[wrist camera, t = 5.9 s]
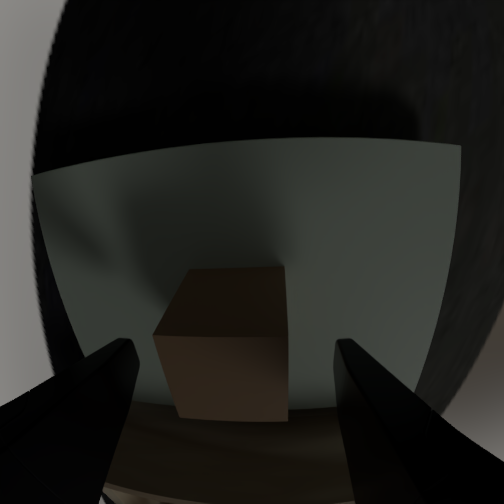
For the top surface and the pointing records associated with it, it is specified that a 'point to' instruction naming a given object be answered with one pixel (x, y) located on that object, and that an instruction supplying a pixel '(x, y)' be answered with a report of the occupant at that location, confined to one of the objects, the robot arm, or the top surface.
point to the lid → (254, 264)
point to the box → (229, 459)
